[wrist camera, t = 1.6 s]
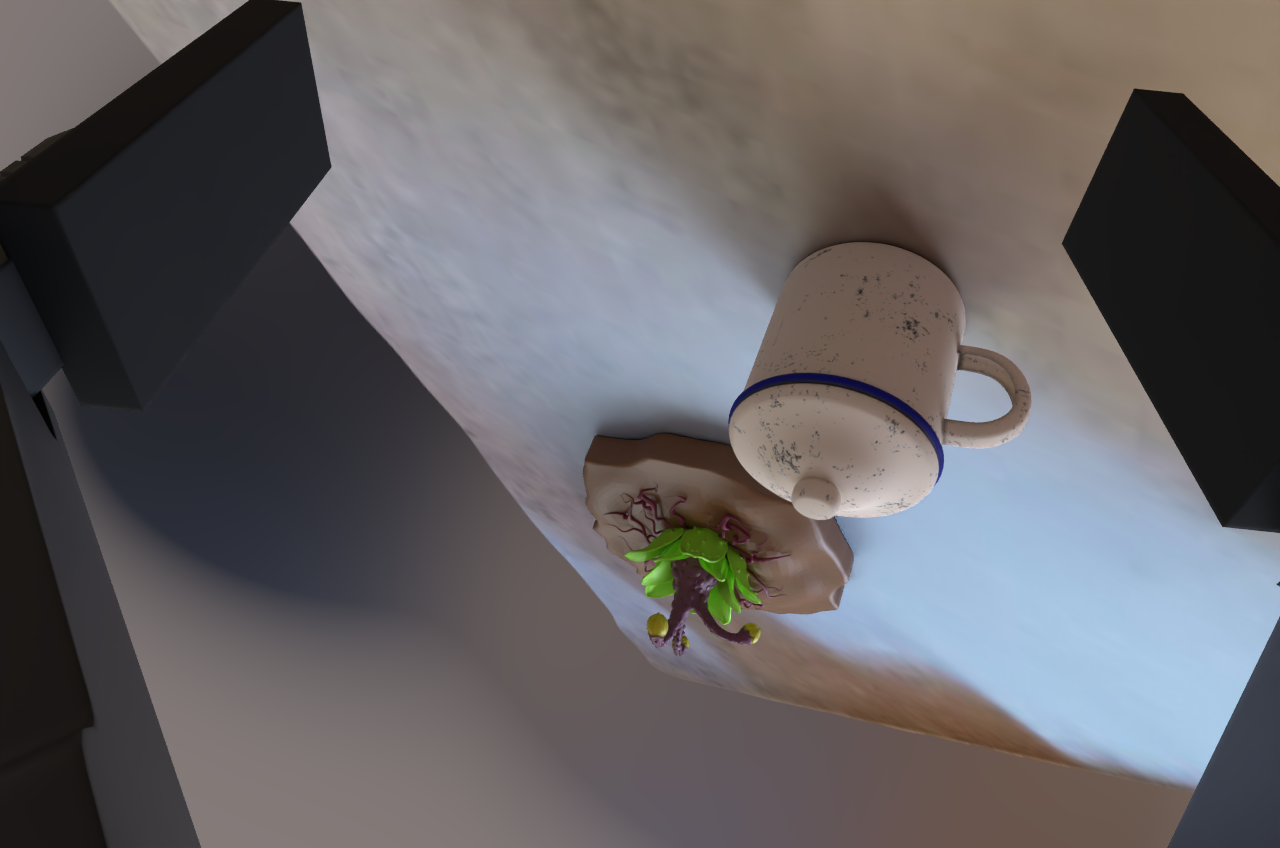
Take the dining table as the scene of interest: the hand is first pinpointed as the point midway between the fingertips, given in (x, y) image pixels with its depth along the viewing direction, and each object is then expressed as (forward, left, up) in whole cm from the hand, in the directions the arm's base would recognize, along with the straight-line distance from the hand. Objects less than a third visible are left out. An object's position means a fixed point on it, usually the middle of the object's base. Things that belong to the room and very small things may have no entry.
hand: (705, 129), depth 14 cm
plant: (+46, +6, -18) cm, 50 cm away
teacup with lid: (+20, +9, -18) cm, 28 cm away
